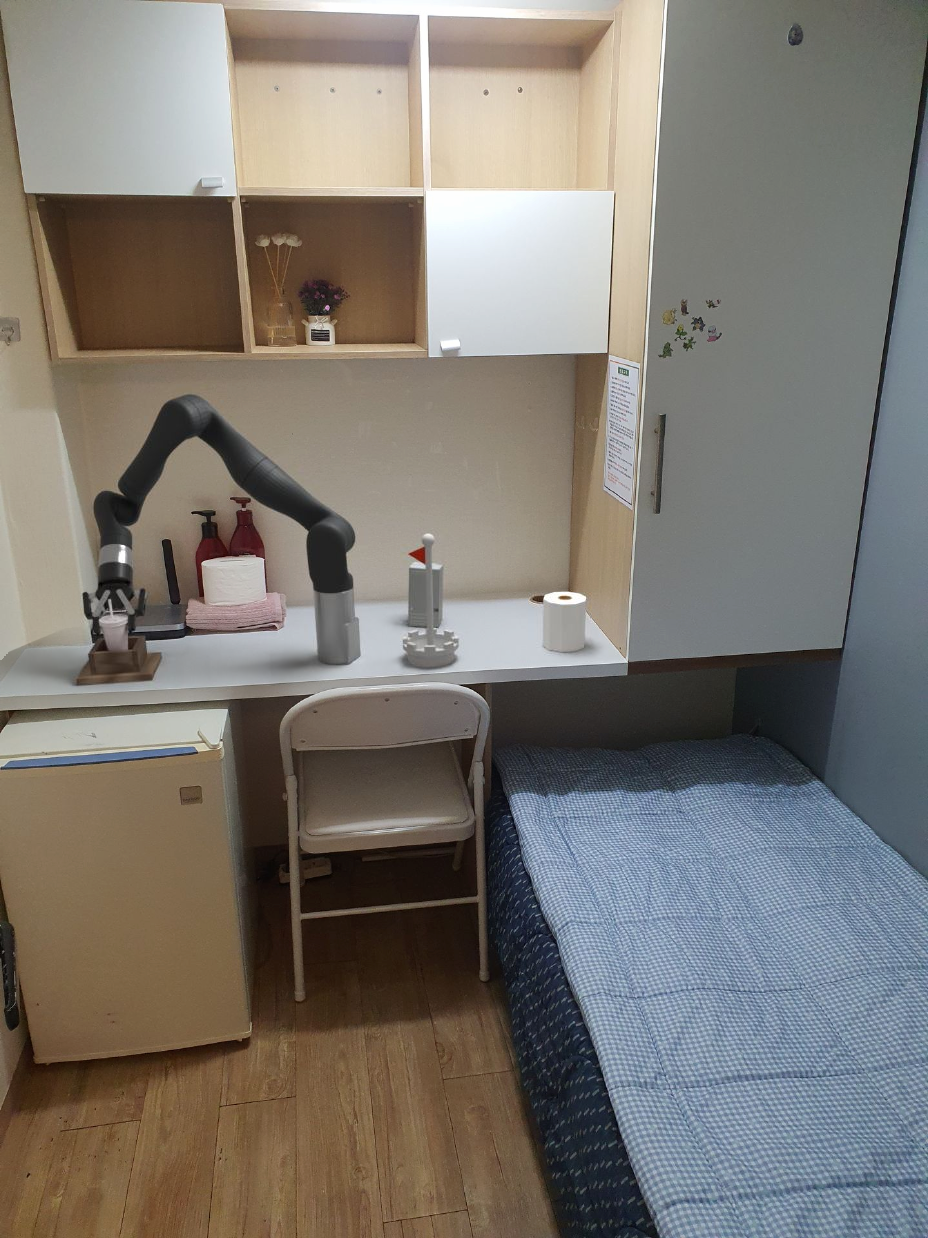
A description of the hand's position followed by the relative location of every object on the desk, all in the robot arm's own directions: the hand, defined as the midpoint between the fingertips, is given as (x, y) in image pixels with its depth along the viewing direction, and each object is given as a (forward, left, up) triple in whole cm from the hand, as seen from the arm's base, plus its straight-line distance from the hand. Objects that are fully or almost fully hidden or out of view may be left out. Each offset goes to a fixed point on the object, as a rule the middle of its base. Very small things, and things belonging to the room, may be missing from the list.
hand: (114, 633), depth 203 cm
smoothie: (+1, -1, -7) cm, 7 cm away
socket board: (+1, -1, -10) cm, 10 cm away
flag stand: (-63, -32, -10) cm, 72 cm away
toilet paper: (-90, -51, -10) cm, 104 cm away
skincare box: (-52, -55, -10) cm, 77 cm away
